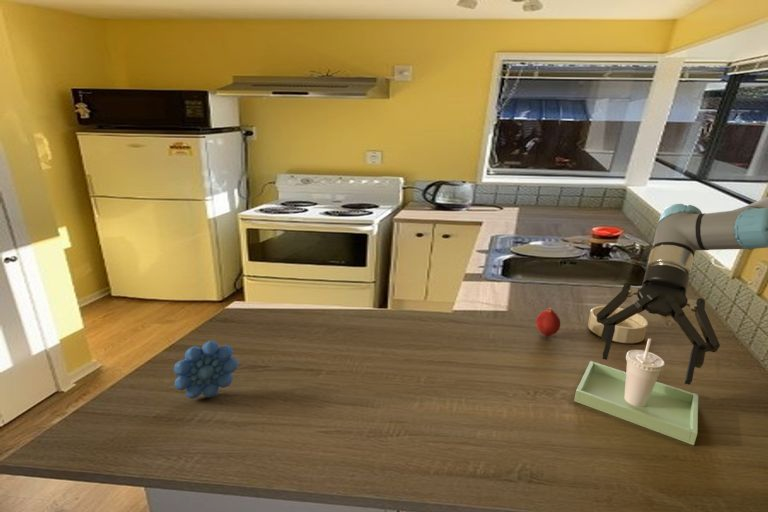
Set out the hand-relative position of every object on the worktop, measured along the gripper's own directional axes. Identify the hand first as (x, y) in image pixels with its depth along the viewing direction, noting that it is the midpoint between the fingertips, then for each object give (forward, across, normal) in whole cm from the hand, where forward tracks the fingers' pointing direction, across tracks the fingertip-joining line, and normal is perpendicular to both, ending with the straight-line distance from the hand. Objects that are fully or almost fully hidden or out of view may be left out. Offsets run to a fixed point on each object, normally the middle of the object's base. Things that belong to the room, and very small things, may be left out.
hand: (644, 369), depth 80 cm
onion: (-7, +22, -20) cm, 30 cm away
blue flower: (+39, +69, +27) cm, 83 cm away
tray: (+5, 0, -8) cm, 9 cm away
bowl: (-17, +8, -29) cm, 35 cm away
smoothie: (+5, 0, -7) cm, 9 cm away
